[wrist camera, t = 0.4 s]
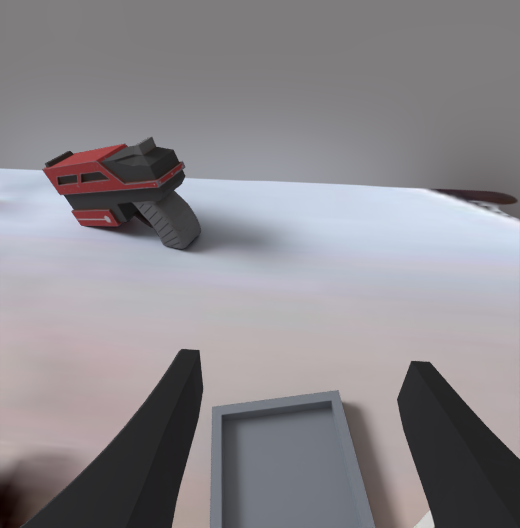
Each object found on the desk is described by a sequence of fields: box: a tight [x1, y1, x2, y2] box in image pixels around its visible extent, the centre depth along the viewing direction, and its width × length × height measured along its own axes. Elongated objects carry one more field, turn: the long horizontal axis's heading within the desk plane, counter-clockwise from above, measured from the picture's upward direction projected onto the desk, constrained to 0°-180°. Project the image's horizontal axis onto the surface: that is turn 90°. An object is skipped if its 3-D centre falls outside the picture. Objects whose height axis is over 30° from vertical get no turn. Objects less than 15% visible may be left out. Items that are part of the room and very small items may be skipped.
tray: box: [210, 390, 375, 528], centre depth 27 cm, size 11×11×2 cm
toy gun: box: [42, 137, 201, 249], centre depth 52 cm, size 5×24×15 cm, turn 62°
